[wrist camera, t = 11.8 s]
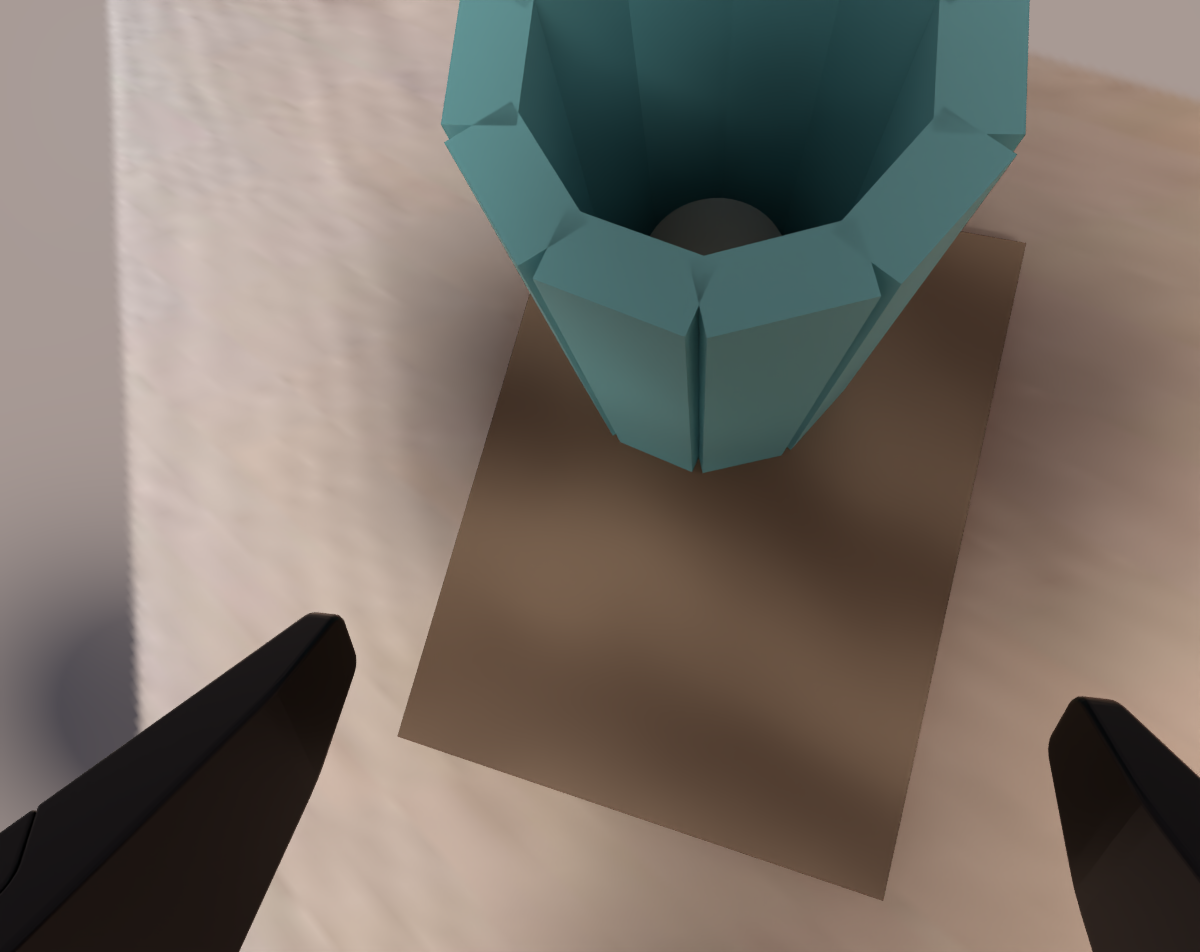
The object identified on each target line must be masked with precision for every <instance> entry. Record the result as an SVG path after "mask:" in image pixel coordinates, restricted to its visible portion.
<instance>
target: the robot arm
mask: <svg viewBox="0 0 1200 952" xmlns="http://www.w3.org/2000/svg"><path fill="white" fill-rule="evenodd" d="M355 668H356V654H355V651H354V648H353V645H352V642H351V639H350V636H349V633H348V630H347V628H346V625H345V622H344V620H343V619H342V618H341V617H340V616H339V615H336V614H327V613H318V612H314V613H310V614H307V615H305V616H304V617H302V618H301V619H299V620H298V621H297V622H295V623H294V624H292V625H291V626H290V627H288V628H287V629H285V630H284V631H283V632H281V633H280V634H278V635H277V636H276V637H274V638H273V639H271V640H270V641H269V642H267V643H266V644H264V645H263V646H262V647H260V648H259V649H257V650H256V651H255V652H253V653H252V654H250V655H249V656H248V657H246V658H245V659H243V660H242V661H241V662H239V663H238V664H236V665H235V666H234V667H232V668H231V669H229V670H228V671H227V672H225V673H224V674H222V675H221V676H220V677H218V678H217V679H215V680H214V681H212V682H211V683H210V684H208V685H207V686H205V687H204V688H203V689H201V690H200V691H198V692H197V693H196V694H194V695H193V696H191V697H190V698H189V699H187V700H186V701H184V702H183V703H182V704H180V705H179V706H177V707H176V708H175V709H173V710H172V711H170V712H169V713H168V714H166V715H165V716H163V717H162V718H161V719H159V720H158V721H156V722H155V723H154V724H152V725H151V726H149V727H148V728H147V729H145V730H144V731H142V732H141V733H140V734H138V735H137V736H135V737H134V738H133V739H131V740H130V741H128V742H127V743H126V744H124V745H123V746H121V747H120V748H119V749H117V750H116V751H114V752H113V753H112V754H110V755H109V756H107V757H106V758H105V759H103V760H102V761H100V762H99V763H98V764H96V765H95V766H93V767H92V768H91V769H89V770H88V771H86V772H85V773H84V774H82V775H81V776H79V777H78V778H76V779H75V780H74V781H72V782H71V783H69V784H68V785H67V786H65V787H64V788H63V789H61V790H60V791H58V792H57V793H55V794H54V795H53V796H51V797H50V798H49V799H47V800H46V801H44V802H43V803H41V804H40V805H39V806H38V808H37V811H35V810H33V811H30V812H29V813H27V814H26V815H25V816H23V817H21V818H20V819H19V820H17V821H16V822H15V823H13V824H12V825H10V826H9V827H7V828H6V829H5V830H3V831H2V832H1V833H0V952H239V951H240V949H241V947H242V944H243V942H244V940H245V938H246V936H247V933H248V931H249V929H250V927H251V925H252V923H253V920H254V918H255V916H256V914H257V912H258V910H259V907H260V905H261V903H262V901H263V899H264V896H265V894H266V892H267V890H268V888H269V886H270V883H271V881H272V879H273V877H274V875H275V873H276V870H277V868H278V866H279V864H280V862H281V859H282V857H283V855H284V853H285V851H286V849H287V846H288V844H289V842H290V840H291V838H292V836H293V833H294V831H295V829H296V827H297V825H298V823H299V820H300V818H301V816H302V814H303V812H304V809H305V807H306V805H307V803H308V801H309V799H310V796H311V794H312V792H313V789H314V787H315V785H316V782H317V780H318V778H319V775H320V772H321V770H322V767H323V764H324V761H325V758H326V756H327V753H328V750H329V747H330V744H331V741H332V738H333V735H334V732H335V729H336V726H337V723H338V720H339V717H340V714H341V711H342V708H343V705H344V702H345V699H346V697H347V694H348V691H349V688H350V685H351V682H352V679H353V676H354V673H355ZM1048 753H1049V761H1050V766H1051V772H1052V777H1053V782H1054V788H1055V793H1056V798H1057V804H1058V809H1059V814H1060V819H1061V825H1062V830H1063V835H1064V841H1065V846H1066V851H1067V856H1068V862H1069V867H1070V872H1071V876H1072V881H1073V886H1074V890H1075V894H1076V897H1077V901H1078V905H1079V908H1080V912H1081V915H1082V918H1083V922H1084V925H1085V928H1086V932H1087V935H1088V938H1089V941H1090V945H1091V948H1092V951H1093V952H1200V777H1199V776H1198V775H1197V774H1195V773H1194V772H1193V771H1192V770H1191V769H1190V768H1189V767H1188V766H1187V765H1186V764H1185V763H1184V762H1183V761H1182V760H1180V759H1179V758H1178V757H1177V756H1176V755H1175V754H1174V753H1173V752H1172V751H1171V750H1170V749H1169V748H1168V747H1167V746H1166V745H1164V744H1163V743H1162V742H1161V741H1160V740H1159V739H1158V738H1157V737H1156V736H1155V735H1154V734H1153V733H1152V732H1151V731H1150V730H1148V729H1147V728H1146V727H1145V726H1144V725H1143V724H1142V723H1141V722H1140V721H1139V720H1138V719H1137V718H1136V717H1135V716H1134V715H1132V714H1131V713H1130V712H1129V711H1128V710H1127V709H1126V708H1125V707H1124V706H1122V705H1121V704H1119V703H1118V702H1116V701H1114V700H1109V699H1102V698H1093V697H1083V696H1081V697H1076V698H1075V699H1073V700H1072V701H1071V702H1070V703H1069V705H1068V707H1067V709H1066V710H1065V712H1064V714H1063V716H1062V717H1061V719H1060V721H1059V723H1058V724H1057V726H1056V728H1055V730H1054V731H1053V733H1052V735H1051V737H1050V741H1049V747H1048Z"/></svg>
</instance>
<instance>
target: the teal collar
mask: <svg viewBox="0 0 1200 952" xmlns="http://www.w3.org/2000/svg"><path fill="white" fill-rule="evenodd" d="M1029 2H1030V0H460V3H459V10H458V16H457V23H456V29H455V36H454V43H453V49H452V56H451V62H450V69H449V75H448V82H447V88H446V95H445V101H444V108H443V114H442V121H441V125H442V127H443V129H444V131H445V133H446V134H447V136H448V138H449V140H447V141H446V142H444V143H445V145H446V146H447V148H448V150H449V152H450V153H451V155H452V157H453V159H454V160H455V162H456V164H457V166H458V167H459V169H460V171H461V173H462V174H463V176H464V178H465V180H466V181H467V183H468V185H469V187H470V188H471V190H472V192H473V194H474V195H475V197H476V199H477V201H478V202H479V204H480V206H481V208H482V209H483V211H484V213H485V215H486V216H487V218H488V220H489V222H490V223H491V225H492V227H493V229H494V230H495V232H496V234H497V236H498V237H499V239H500V241H501V243H502V244H503V246H504V248H505V250H506V251H507V253H508V255H509V257H510V258H511V260H512V262H513V264H514V265H515V267H516V269H517V271H518V272H519V274H520V276H521V278H522V279H523V281H524V283H525V285H526V286H527V288H528V290H529V292H530V293H531V295H532V297H533V299H534V300H535V302H536V304H537V306H538V307H539V309H540V311H541V313H542V314H543V316H544V318H545V320H546V321H547V323H548V325H549V327H550V329H551V330H552V332H553V334H554V336H555V337H556V339H557V341H558V343H559V344H560V346H561V348H562V350H563V351H564V353H565V355H566V357H567V358H568V360H569V362H570V364H571V365H572V367H573V369H574V371H575V372H576V374H577V376H578V377H579V379H580V381H581V382H582V384H583V386H584V388H585V389H586V391H587V393H588V394H589V396H590V398H591V399H592V401H593V403H594V405H595V406H596V408H597V410H598V411H599V413H600V415H601V416H602V418H603V420H604V421H605V423H606V425H607V427H608V428H609V430H610V432H611V433H612V435H615V434H616V435H617V437H618V439H619V441H620V442H621V443H624V444H626V445H629V446H631V447H633V448H636V449H638V450H640V451H643V452H645V453H648V454H650V455H652V456H655V457H657V458H660V459H662V460H664V461H667V462H669V463H672V464H674V465H676V466H679V467H681V468H683V469H686V470H688V471H691V472H692V471H693V469H694V467H695V465H696V462H697V460H698V458H699V460H700V464H701V469H702V473H705V472H710V471H714V470H719V469H723V468H727V467H732V466H736V465H741V464H745V463H750V462H754V461H759V460H763V459H768V458H772V457H777V456H781V455H782V454H783V452H784V451H785V449H786V448H787V447H788V448H789V449H790V450H791V449H792V448H793V447H794V446H795V445H796V444H797V442H798V441H799V440H800V439H801V438H802V437H803V436H804V435H805V433H806V432H807V431H808V430H809V429H810V428H811V427H812V426H813V424H814V423H815V422H816V421H817V420H818V419H819V418H820V417H821V415H822V414H823V413H824V412H825V411H826V410H827V409H828V408H829V406H830V405H831V404H832V403H833V402H834V401H835V400H836V399H837V398H838V396H839V395H840V394H841V393H842V392H843V391H844V389H845V388H846V387H847V385H848V384H849V383H850V381H851V380H852V379H853V377H854V376H855V374H856V373H857V372H858V370H859V369H860V368H861V366H862V365H863V364H864V362H865V361H866V360H867V358H868V357H869V355H870V354H871V353H872V351H873V350H874V349H875V347H876V346H877V345H878V343H879V342H880V340H881V339H882V338H883V336H884V335H885V334H886V332H887V331H888V330H889V328H890V327H891V325H892V324H893V323H894V321H895V320H896V319H897V317H898V316H899V315H900V313H901V312H902V311H903V309H904V308H905V306H906V305H907V304H908V302H909V301H910V300H911V298H912V297H913V296H914V294H915V293H916V291H917V290H918V289H919V287H920V286H921V285H922V283H923V282H924V281H925V279H926V278H927V277H928V275H929V274H930V272H931V271H932V270H933V268H934V267H935V266H936V264H937V263H938V262H939V260H940V259H941V257H942V256H943V255H944V253H945V252H946V251H947V249H948V248H949V247H950V245H951V244H952V242H953V241H954V240H955V238H956V237H957V236H958V234H959V233H960V232H961V230H962V229H963V228H964V226H965V225H966V223H967V222H968V221H969V219H970V218H971V217H972V215H973V214H974V213H975V211H976V210H977V208H978V207H979V206H980V204H981V203H982V202H983V200H984V199H985V198H986V196H987V195H988V193H989V192H990V191H991V189H992V188H993V187H994V185H995V184H996V183H997V181H998V180H999V179H1000V177H1001V176H1002V174H1003V173H1004V172H1005V170H1006V169H1007V168H1008V166H1009V165H1010V164H1011V162H1012V161H1013V159H1014V158H1015V157H1016V155H1017V154H1016V153H1014V152H1013V151H1014V150H1015V148H1016V147H1017V146H1018V144H1019V143H1020V141H1021V140H1022V139H1023V137H1024V136H1025V132H1026V99H1027V67H1028V34H1029V32H1028V31H1029ZM709 198H726V199H733V200H737V201H741V202H744V203H746V204H749V205H751V206H753V207H754V208H756V209H758V210H759V211H761V212H762V213H764V214H765V215H766V216H767V217H768V218H769V219H770V220H771V221H772V222H773V223H774V224H775V226H776V227H777V228H778V230H779V232H780V233H781V235H782V236H780V237H776V238H772V239H768V240H764V241H760V242H756V243H752V244H748V245H744V246H740V247H736V248H732V249H728V250H724V251H720V252H717V253H713V254H709V255H705V256H703V255H700V254H697V253H695V252H692V251H689V250H686V249H683V248H681V247H678V246H675V245H672V244H669V243H667V242H664V241H661V240H658V239H656V238H653V237H650V235H651V233H652V232H653V230H654V229H655V227H656V226H657V225H658V224H659V223H660V222H661V221H662V220H663V219H664V218H665V217H666V216H667V215H669V214H670V213H672V212H673V211H674V210H676V209H678V208H680V207H682V206H683V205H686V204H688V203H691V202H694V201H698V200H702V199H709Z"/></svg>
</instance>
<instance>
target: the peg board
mask: <svg viewBox="0 0 1200 952" xmlns="http://www.w3.org/2000/svg"><path fill="white" fill-rule="evenodd" d="M780 236H782V235H781V233H780V232H779V230H778V228H777V227H776V226H775V224H774V223H773V222H772V221H771V220H770V219H769V218H768V217H767V216H766V215H765V214H764V213H762V212H761V211H759V210H758V209H756V208H754V207H753V206H751V205H749V204H746V203H744V202H741V201H737V200H733V199H726V198H709V199H702V200H698V201H694V202H691V203H688V204H686V205H683V206H682V207H680V208H678V209H676V210H674V211H673V212H672V213H670V214H669V215H667V216H666V217H665V218H664V219H663V220H662V221H661V222H660V223H659V224H658V225H657V226H656V227H655V229H654V230H653V232H652V233H651V235H650V237H653V238H656V239H658V240H661V241H664V242H667V243H669V244H672V245H675V246H678V247H681V248H683V249H686V250H689V251H692V252H695V253H697V254H700V255H703V256H705V255H709V254H713V253H717V252H720V251H724V250H728V249H732V248H736V247H740V246H744V245H748V244H752V243H756V242H760V241H764V240H768V239H772V238H776V237H780ZM1025 246H1026V243H1022V242H1017V241H1011V240H1006V239H1000V238H995V237H989V236H984V235H978V234H973V233H967V232H962V231H961V232H960V233H959V234H958V236H957V237H956V238H955V240H954V241H953V242H952V244H951V245H950V247H949V248H948V249H947V251H946V252H945V253H944V255H943V256H942V257H941V259H940V260H939V262H938V263H937V264H936V266H935V267H934V268H933V270H932V271H931V272H930V274H929V275H928V277H927V278H926V279H925V281H924V282H923V283H922V285H921V286H920V287H919V289H918V290H917V291H916V293H915V294H914V296H913V297H912V298H911V300H910V301H909V302H908V304H907V305H906V306H905V308H904V309H903V311H902V312H901V313H900V315H899V316H898V317H897V319H896V320H895V321H894V323H893V324H892V325H891V327H890V328H889V330H888V331H887V332H886V334H885V335H884V336H883V338H882V339H881V340H880V342H879V343H878V345H877V346H876V347H875V349H874V350H873V351H872V353H871V354H870V355H869V357H868V358H867V360H866V361H865V362H864V364H863V365H862V366H861V368H860V369H859V370H858V372H857V373H856V374H855V376H854V377H853V379H852V380H851V381H850V383H849V384H848V385H847V387H846V388H845V389H844V391H843V392H842V393H841V394H840V395H839V396H838V398H837V399H836V400H835V401H834V402H833V403H832V404H831V405H830V406H829V408H828V409H827V410H826V411H825V412H824V413H823V414H822V415H821V417H820V418H819V419H818V420H817V421H816V422H815V423H814V424H813V426H812V427H811V428H810V429H809V430H808V431H807V432H806V433H805V435H804V436H803V437H802V438H801V439H800V440H799V441H798V442H797V444H796V445H795V446H794V447H793V448H792V449H791V450H790V449H789V448H788V447H787V448H786V449H785V451H784V452H783V454H782V455H781V456H777V457H772V458H768V459H763V460H759V461H754V462H750V463H745V464H741V465H736V466H732V467H727V468H723V469H719V470H714V471H710V472H705V473H702V469H701V464H700V460H699V458H698V460H697V462H696V465H695V467H694V469H693V471H692V472H691V471H688V470H686V469H683V468H681V467H679V466H676V465H674V464H672V463H669V462H667V461H664V460H662V459H660V458H657V457H655V456H652V455H650V454H648V453H645V452H643V451H640V450H638V449H636V448H633V447H631V446H629V445H626V444H624V443H621V442H620V441H619V439H618V437H617V435H616V434H615V435H612V433H611V432H610V430H609V428H608V427H607V425H606V423H605V421H604V420H603V418H602V416H601V415H600V413H599V411H598V410H597V408H596V406H595V405H594V403H593V401H592V399H591V398H590V396H589V394H588V393H587V391H586V389H585V388H584V386H583V384H582V382H581V381H580V379H579V377H578V376H577V374H576V372H575V371H574V369H573V367H572V365H571V364H570V362H569V360H568V358H567V357H566V355H565V353H564V351H563V350H562V348H561V346H560V344H559V343H558V341H557V339H556V337H555V336H554V334H553V332H552V330H551V329H550V327H549V325H548V323H547V321H546V320H545V318H544V316H543V314H542V313H541V311H540V309H539V307H538V306H537V304H536V302H535V300H534V299H533V297H532V295H531V293H530V294H529V298H528V301H527V305H526V308H525V311H524V315H523V318H522V321H521V325H520V328H519V331H518V335H517V338H516V341H515V345H514V348H513V351H512V355H511V358H510V361H509V365H508V368H507V371H506V375H505V378H504V381H503V385H502V388H501V392H500V395H499V398H498V402H497V405H496V408H495V412H494V415H493V418H492V422H491V425H490V428H489V432H488V435H487V438H486V442H485V445H484V448H483V452H482V455H481V458H480V462H479V465H478V468H477V472H476V475H475V479H474V482H473V485H472V489H471V492H470V495H469V499H468V502H467V505H466V509H465V512H464V515H463V519H462V522H461V525H460V529H459V532H458V535H457V539H456V542H455V545H454V549H453V552H452V555H451V559H450V562H449V566H448V569H447V572H446V576H445V579H444V582H443V586H442V589H441V592H440V596H439V599H438V602H437V606H436V609H435V612H434V616H433V619H432V622H431V626H430V629H429V632H428V636H427V639H426V642H425V646H424V649H423V653H422V656H421V659H420V663H419V666H418V669H417V673H416V676H415V679H414V683H413V686H412V689H411V693H410V696H409V699H408V703H407V706H406V709H405V713H404V716H403V719H402V723H401V726H400V730H399V733H398V737H401V738H404V739H407V740H410V741H413V742H416V743H419V744H421V745H424V746H427V747H430V748H433V749H436V750H439V751H442V752H445V753H448V754H451V755H454V756H457V757H460V758H463V759H466V760H469V761H472V762H475V763H478V764H481V765H484V766H486V767H489V768H492V769H495V770H498V771H501V772H504V773H507V774H510V775H513V776H516V777H519V778H522V779H525V780H528V781H531V782H534V783H537V784H540V785H543V786H546V787H548V788H551V789H554V790H557V791H560V792H563V793H566V794H569V795H572V796H575V797H578V798H581V799H584V800H587V801H590V802H593V803H596V804H599V805H602V806H605V807H608V808H610V809H613V810H616V811H619V812H622V813H625V814H628V815H631V816H634V817H637V818H640V819H643V820H646V821H649V822H652V823H655V824H658V825H661V826H664V827H667V828H670V829H673V830H675V831H678V832H681V833H684V834H687V835H690V836H693V837H696V838H699V839H702V840H705V841H708V842H711V843H714V844H717V845H720V846H723V847H726V848H729V849H732V850H735V851H737V852H740V853H743V854H746V855H749V856H752V857H755V858H758V859H761V860H764V861H767V862H770V863H773V864H776V865H779V866H782V867H785V868H788V869H791V870H794V871H797V872H799V873H802V874H805V875H808V876H811V877H814V878H817V879H820V880H823V881H826V882H829V883H832V884H835V885H838V886H841V887H844V888H847V889H850V890H853V891H856V892H859V893H862V894H864V895H867V896H870V897H873V898H876V899H879V900H882V901H883V899H884V895H885V890H886V885H887V881H888V876H889V872H890V867H891V862H892V858H893V853H894V849H895V844H896V839H897V835H898V830H899V826H900V821H901V816H902V812H903V807H904V803H905V798H906V793H907V789H908V784H909V780H910V775H911V770H912V766H913V761H914V757H915V752H916V747H917V743H918V738H919V734H920V729H921V724H922V720H923V715H924V711H925V706H926V701H927V697H928V692H929V688H930V683H931V678H932V674H933V669H934V664H935V660H936V655H937V651H938V646H939V641H940V637H941V632H942V628H943V623H944V618H945V614H946V609H947V605H948V600H949V595H950V591H951V586H952V582H953V577H954V572H955V568H956V563H957V559H958V554H959V549H960V545H961V540H962V536H963V531H964V526H965V522H966V517H967V513H968V508H969V503H970V499H971V494H972V490H973V485H974V480H975V476H976V471H977V467H978V462H979V457H980V453H981V448H982V444H983V439H984V434H985V430H986V425H987V421H988V416H989V411H990V407H991V402H992V398H993V393H994V388H995V384H996V379H997V375H998V370H999V365H1000V361H1001V356H1002V352H1003V347H1004V342H1005V338H1006V333H1007V329H1008V324H1009V319H1010V315H1011V310H1012V306H1013V301H1014V296H1015V292H1016V287H1017V283H1018V278H1019V273H1020V269H1021V264H1022V259H1023V255H1024V250H1025Z"/></svg>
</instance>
